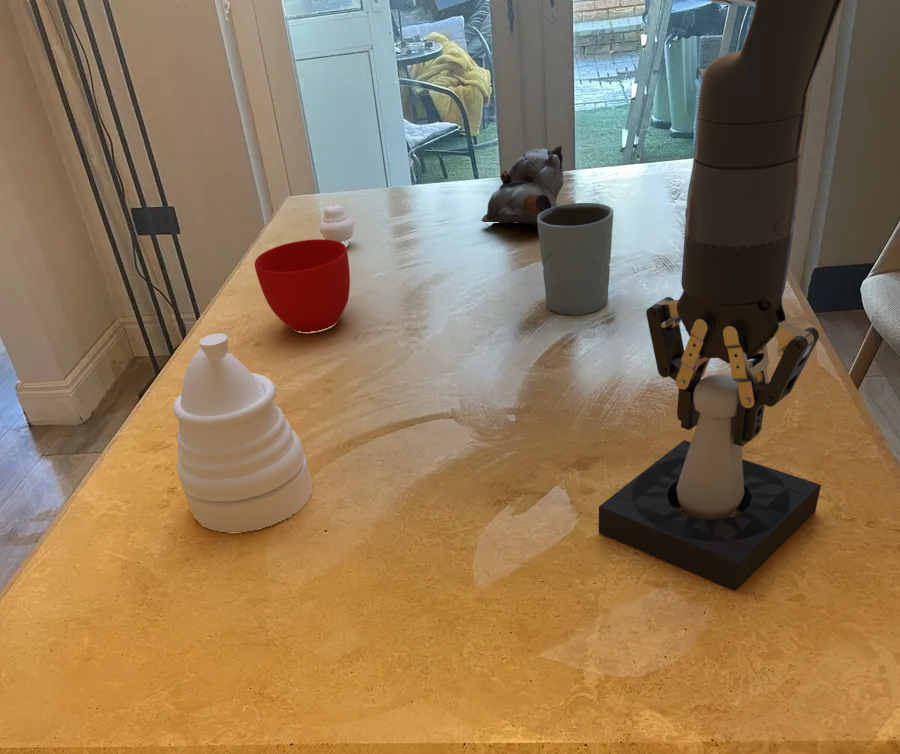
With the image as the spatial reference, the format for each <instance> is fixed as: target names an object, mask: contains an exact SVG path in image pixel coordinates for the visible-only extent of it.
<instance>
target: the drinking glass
mask: <svg viewBox="0 0 900 754" xmlns="http://www.w3.org/2000/svg"><path fill="white" fill-rule="evenodd" d="M537 224H538V225H537V231H538V239H539V247H540V257H541V264H542V265H541V266H542V274H543V275H542V276H543V282H544V290H545V292H544V293H545V304H546V307H547V306H548V307H549V308H550V309H551V310H553V311H555V312H558V313H557V314H559V313H561V314H560V315H564V314H567V315H566V316H582V315H588V314H591V312H592V313H595V312H597V311H600V310H601V309H603V308H604V307H606V305H607V303H608V299H609V286H610V285H609V283H610V273H611V268H610V267H611V266H610V263H611V255H612V243H613V242H612V241H613V226H614V225H613V224H614V209H613V208H612V207H610V206H609V205H606V204H603V203H602V204H601V203H595V202H575V203H567V204H566V203H565V204H560V205H557V206H556V207H553V208H550V209H547V210H545V211H543V212H541V213H540V214H539V215H538V218H537ZM548 307H547V308H548ZM550 309H549V310H550ZM553 311H552V312H553ZM555 312H554V313H555ZM569 314H570V315H569Z"/></svg>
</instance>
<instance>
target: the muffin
mask: <svg viewBox="0 0 900 754" xmlns="http://www.w3.org/2000/svg"><path fill="white" fill-rule="evenodd" d="M354 228H355V222H354V220H353V218H352V217H350V216H349V215H348V214H347V212H345V208H344V207H343V206H341V205H339V204H332V205H329V206H327V207H326V208H325V209H324V211H323V217H322V220H321V221H320V222H319V225H318V229H319V232H320V233H321V234H322V237H323V238H324V239H326V240H334V241H338V242H342V241H346V240H348V239H350V238H351V237H352V238H353V235H354ZM352 238H351V239H352Z"/></svg>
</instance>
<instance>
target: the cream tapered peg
mask: <svg viewBox="0 0 900 754" xmlns="http://www.w3.org/2000/svg"><path fill="white" fill-rule="evenodd" d="M693 401H694V405H695V408H696V410H697V411H698V412H700V416H699V419H698V422H697V425H696V426H695V429H694V432H693V435H692V438H691V441H690V442H691V444H690V447H689V450H688V453H687V457H686V460H685V463H684V466H683V469H682V472H681V475H680V478H679V481H678V484H677V487H676V488H677V495H678V501H679V503H680V508H681V509H682V513H684V514H687V515H689V516H692V517H695V518H702V519H710V520H712V519H722V518H729V517H732V516H733V513H734V512H735V511H736V510H737V509H736V508H737V507H738V506H739V504H740V502H741V500H742V498H743V496H744V479H743V464H742V459H743V450H742V446H738V445H735V444H734V443H733V441H734V433H735V425H736V417H737V409H738V405H740V404H741V402H740V397H739V391H738V385H737V382H736V381H734V380H733V378H732V374H724V373H721V374H720V373H718V374H711V375H709V376H706V377H704V378H701V381H699V382H698V384H697V385H696V387H695V390H694V394H693Z"/></svg>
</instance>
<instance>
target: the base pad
mask: <svg viewBox="0 0 900 754" xmlns="http://www.w3.org/2000/svg"><path fill="white" fill-rule="evenodd" d="M690 444H691V441H688V440H686V439H684V440H682V441H681V442H680V443H678V444H677V445H676V446H675V447H673V448H672V449H671V450H669V451H668V452H666V454H664V455H662V456H661V457H660V458H659V459H658V460H657V461H655V462H654V463H653V464H651V465H650V466H649V467H648V468H645V470H643V471H642V472H641V473H640V474H639V475H637V476H636V477H635V478H633V479H632V480H631V481H629V482H628V483H627V484H626V485H624V486H623V487H622V488H621V489H618V491H616V492H614V494H613V495H611V497H608V499H606V500H605V501H604V502H602V503H601V504H599V506H598V533H599V534H601V535H603V536H604V537H605V536H606V537H608V538H610V539H612V540H614V541H617V542H620V543H621V544H624V545H627V546H629V547H631V548H634V549H636V550H638V551H640V552H643V553H645V554H648V555H650V556H652V557H654V558H657V559H660V560H662V561H664V562H666V563H669V564H670V565H673V566H676V567H678V568H681V569H683V570H685V571H687V572H690V573H692V574H695V575H697V576H699V577H701V578H704V579H706V580H709V581H711V582H713V583H715V582H716V584H718V585H720V584H721V585H720V586H723V587H724V588H727V587H728V588H727V589H730V590H732V589H733V590H732V591H734V590H736V589H737V590H738V589H739V588H740V587H741V586H742V585H743V584H744V583H745V582H746V581H747V580H748V579H749V578H750V577H752V575H754V574H755V572H756V571H758V569H759V568H760V567H761V566H762V565H763V564H765V562H766V561H767V560H768V559H769V558H771V556H773V554H774V553H775V552H776V551H778V549H780V548H781V547H782V546H783V545H784V544H785V543H786V542H787V541H788V539H790V537H792V536H793V535H794V534H795V532H797V531H798V529H800V528H801V527H802V526H803V525H804V524H805V523H806V522H807V521H808V520H809V519H810V518H811V517H812V516H813V515H814V514H815V513H816V511H817V507H818V501H819V497H820V492H821V488H822V484H821V483H817V482H815V481H811V480H808V479H805V478H803V477H798V476H796V475H792V474H790V473H787V472H783V471H781V470H778V469H774V468H772V467H768V466H765V465H762V464H759V463H756V462H753V461H750V460H747V459H744V458H742V464H743V479H744V496H743V498H742V500H741V502H740V504H739V506H738V507H737V508H736V509H735V510H738V512H740V513H737V514H735V515H731V516H730V517H729V518H722V519H712V520H710V519H702V518H695V517H692V516H689V515H687V514H684V512H681V511H679V509H676V507H677V506H679V505H680V503H679V501H678V495H677V488H676V487H677V484H678V481H679V478H680V475H681V472H682V469H683V466H684V463H685V460H686V457H687V453H688V450H689V447H690ZM680 506H681V505H680ZM737 590H736V591H737Z"/></svg>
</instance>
